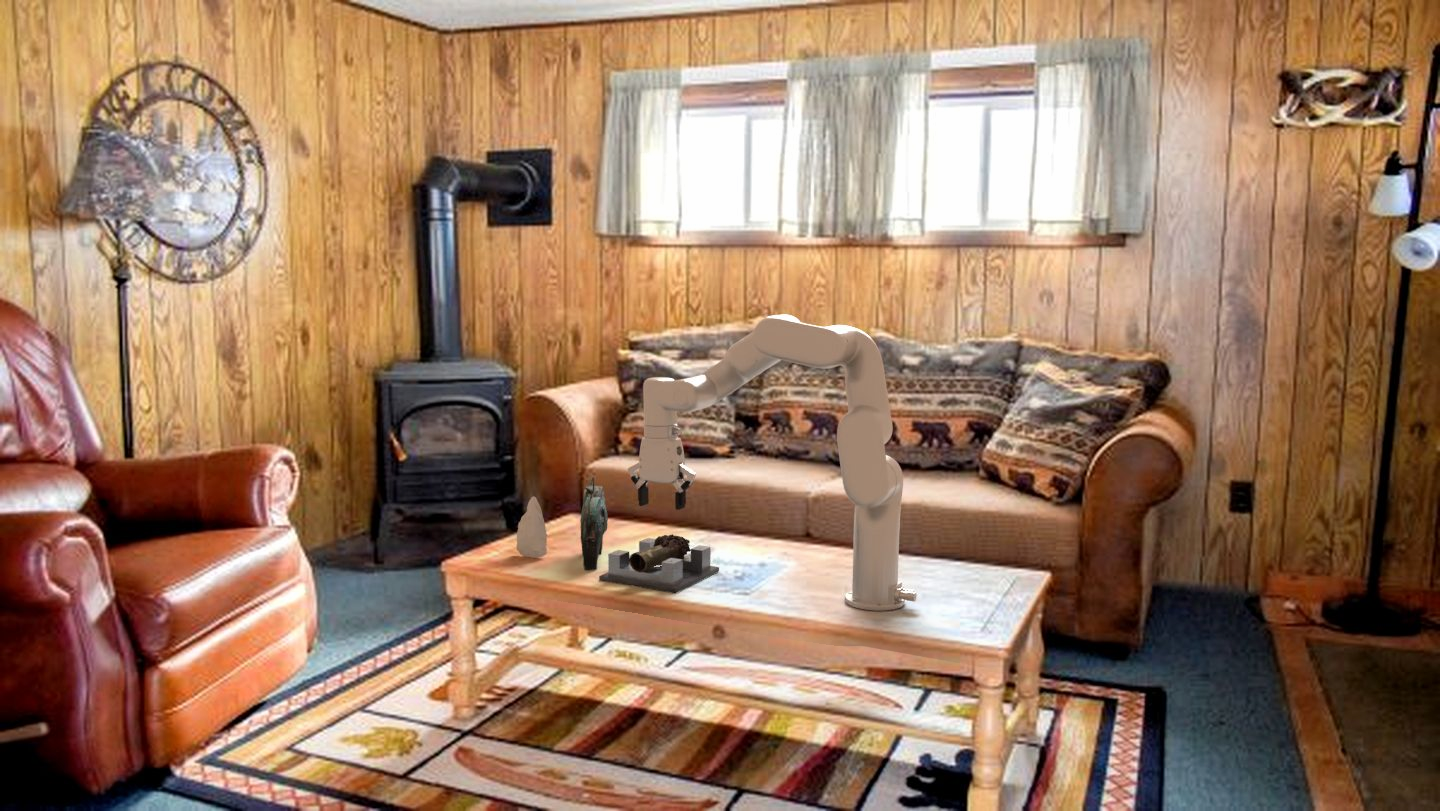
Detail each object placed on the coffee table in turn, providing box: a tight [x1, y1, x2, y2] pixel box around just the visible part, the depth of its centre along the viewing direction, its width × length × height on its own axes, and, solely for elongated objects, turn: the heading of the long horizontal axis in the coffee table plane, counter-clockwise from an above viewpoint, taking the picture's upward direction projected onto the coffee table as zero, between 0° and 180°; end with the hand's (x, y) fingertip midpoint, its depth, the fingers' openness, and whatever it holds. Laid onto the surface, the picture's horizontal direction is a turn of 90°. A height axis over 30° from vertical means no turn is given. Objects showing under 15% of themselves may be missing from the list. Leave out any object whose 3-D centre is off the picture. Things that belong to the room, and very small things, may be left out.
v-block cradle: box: [598, 537, 720, 594], centre depth 249 cm, size 20×20×6 cm
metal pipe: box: [629, 534, 691, 573], centre depth 249 cm, size 18×7×6 cm, turn 144°
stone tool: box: [516, 495, 548, 559], centre depth 264 cm, size 8×3×15 cm, turn 70°
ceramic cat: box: [580, 476, 609, 571], centre depth 262 cm, size 20×6×20 cm, turn 2°
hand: (661, 506), depth 247 cm, fingers open, 9 cm apart
